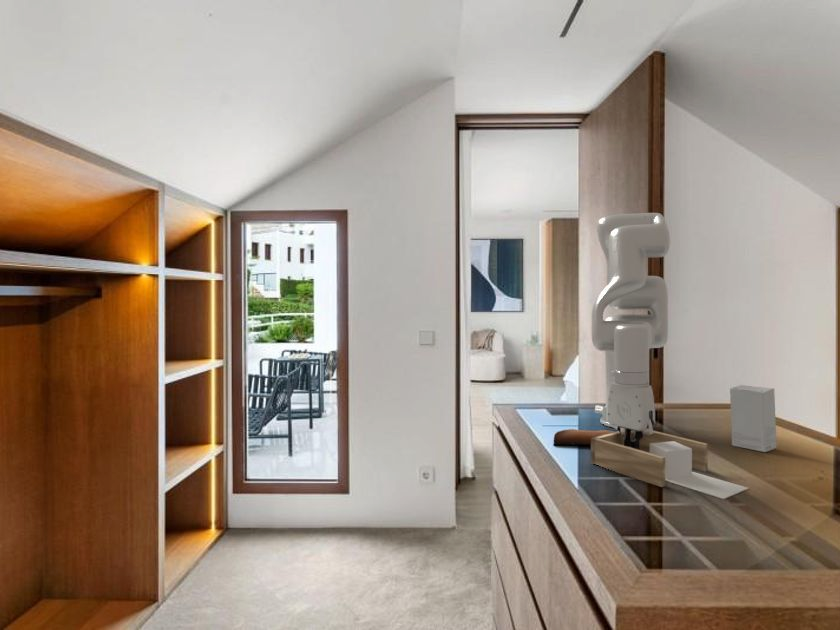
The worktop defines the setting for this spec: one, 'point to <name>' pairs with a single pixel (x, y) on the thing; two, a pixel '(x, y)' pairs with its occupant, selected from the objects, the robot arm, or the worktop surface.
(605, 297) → the robot arm
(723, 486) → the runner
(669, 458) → the white cube
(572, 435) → the sunglasses case
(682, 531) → the worktop surface
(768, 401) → the skincare box
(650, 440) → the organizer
